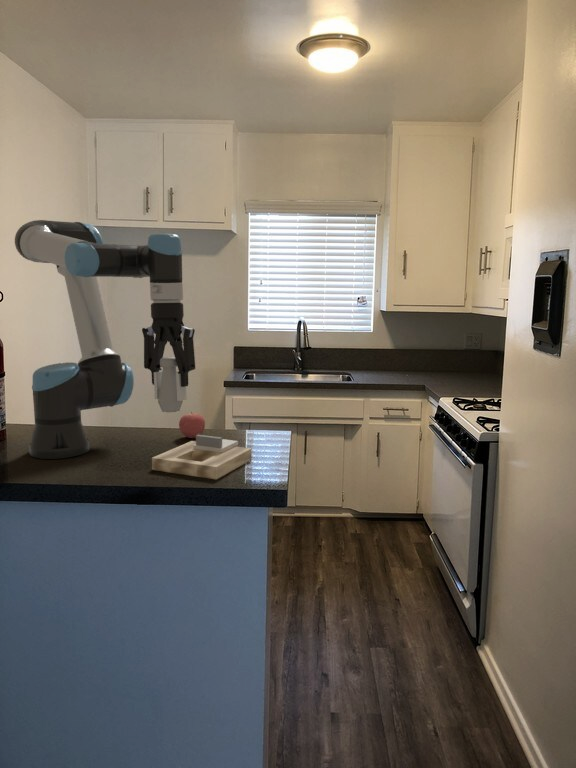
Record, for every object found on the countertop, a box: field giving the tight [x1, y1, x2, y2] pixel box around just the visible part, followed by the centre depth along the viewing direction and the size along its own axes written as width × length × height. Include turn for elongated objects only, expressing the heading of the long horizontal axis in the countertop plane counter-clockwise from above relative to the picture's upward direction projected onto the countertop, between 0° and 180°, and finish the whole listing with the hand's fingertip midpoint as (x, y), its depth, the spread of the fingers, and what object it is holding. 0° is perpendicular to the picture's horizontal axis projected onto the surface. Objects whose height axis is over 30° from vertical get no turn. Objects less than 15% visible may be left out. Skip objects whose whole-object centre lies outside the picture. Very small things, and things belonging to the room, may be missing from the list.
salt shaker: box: [157, 356, 184, 413], centre depth 149 cm, size 6×6×13 cm
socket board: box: [151, 440, 252, 480], centre depth 157 cm, size 18×18×3 cm
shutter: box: [193, 434, 239, 453], centre depth 162 cm, size 8×8×4 cm
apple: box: [178, 411, 206, 439], centre depth 183 cm, size 7×7×8 cm
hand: (170, 399), depth 150 cm, fingers closed on salt shaker, 6 cm apart
